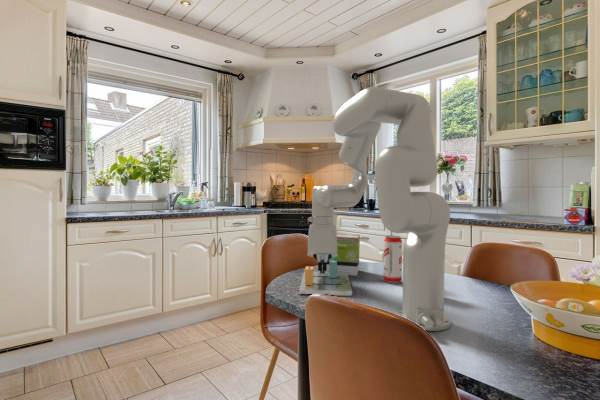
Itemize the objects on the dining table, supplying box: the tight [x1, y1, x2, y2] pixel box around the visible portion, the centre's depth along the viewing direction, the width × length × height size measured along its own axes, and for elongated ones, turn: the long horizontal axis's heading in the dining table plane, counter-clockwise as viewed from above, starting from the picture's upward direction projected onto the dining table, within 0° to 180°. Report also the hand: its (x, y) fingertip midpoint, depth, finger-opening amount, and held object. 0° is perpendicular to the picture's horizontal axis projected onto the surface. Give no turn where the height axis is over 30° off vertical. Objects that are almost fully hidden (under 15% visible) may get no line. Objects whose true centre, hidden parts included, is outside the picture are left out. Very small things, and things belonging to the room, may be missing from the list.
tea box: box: [318, 233, 361, 277], centre depth 135 cm, size 15×10×15 cm
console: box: [298, 270, 353, 297], centre depth 117 cm, size 24×16×2 cm, turn 176°
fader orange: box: [304, 265, 314, 285], centre depth 112 cm, size 4×2×5 cm, turn 176°
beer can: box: [382, 234, 403, 285], centre depth 121 cm, size 6×6×16 cm
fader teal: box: [329, 261, 337, 278], centre depth 121 cm, size 4×2×5 cm, turn 176°
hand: (322, 272), depth 122 cm, fingers closed
